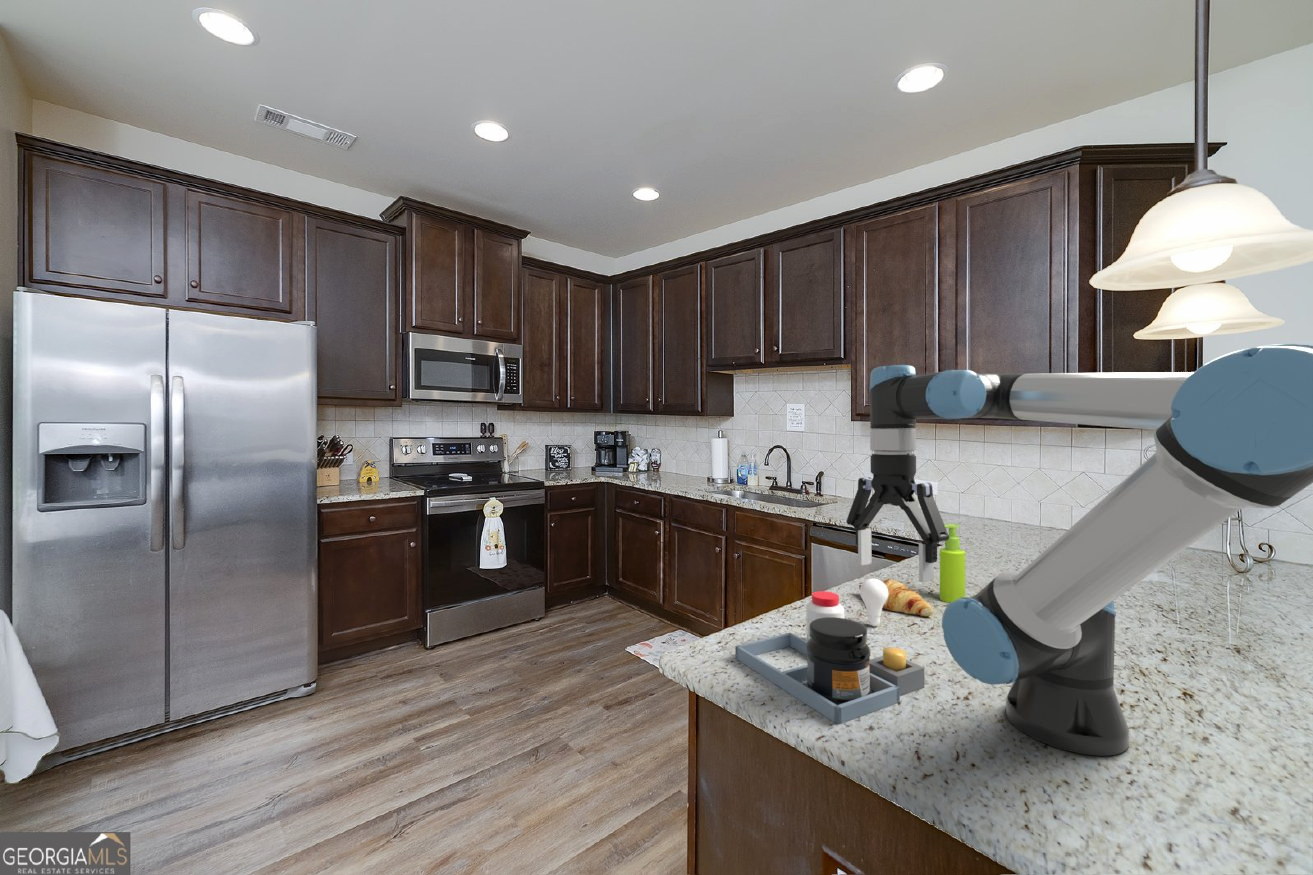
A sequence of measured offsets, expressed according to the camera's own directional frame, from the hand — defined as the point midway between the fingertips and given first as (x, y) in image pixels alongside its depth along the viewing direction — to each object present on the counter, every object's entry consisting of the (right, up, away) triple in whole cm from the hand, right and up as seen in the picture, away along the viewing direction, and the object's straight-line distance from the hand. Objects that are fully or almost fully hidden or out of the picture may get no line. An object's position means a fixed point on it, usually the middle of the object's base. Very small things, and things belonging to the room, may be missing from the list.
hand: (893, 572), depth 98 cm
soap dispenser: (+35, -19, +45) cm, 60 cm away
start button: (0, -18, 0) cm, 18 cm away
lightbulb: (+8, -20, +28) cm, 35 cm away
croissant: (+18, -19, +41) cm, 49 cm away
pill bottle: (-7, -20, +17) cm, 27 cm away
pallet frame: (-14, -20, +3) cm, 25 cm away
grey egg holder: (0, -20, +1) cm, 20 cm away
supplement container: (-11, -21, -3) cm, 24 cm away
